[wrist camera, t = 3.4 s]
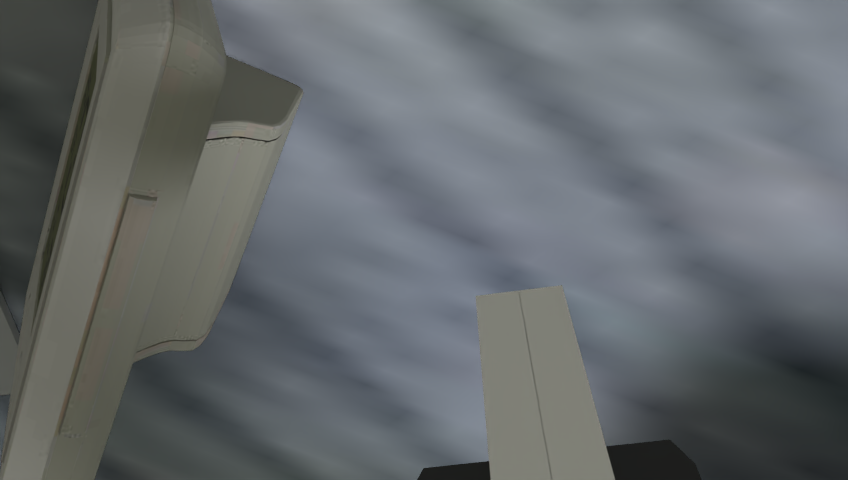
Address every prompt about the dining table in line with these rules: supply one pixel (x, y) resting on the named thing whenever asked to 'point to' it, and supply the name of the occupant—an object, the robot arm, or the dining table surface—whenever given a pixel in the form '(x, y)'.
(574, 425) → the robot arm
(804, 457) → the dining table surface
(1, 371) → the mat
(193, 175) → the digital clock
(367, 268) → the dining table surface
